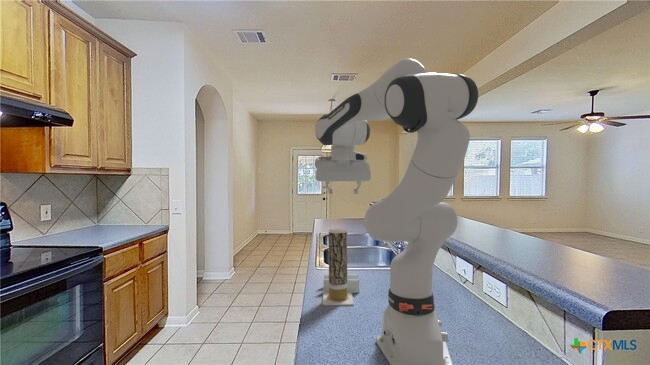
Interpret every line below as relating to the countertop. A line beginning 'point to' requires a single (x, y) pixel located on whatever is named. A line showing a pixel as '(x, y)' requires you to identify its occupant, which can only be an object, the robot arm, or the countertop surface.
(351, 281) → the low walls
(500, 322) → the countertop surface
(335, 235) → the wooden log
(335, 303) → the resting pad
